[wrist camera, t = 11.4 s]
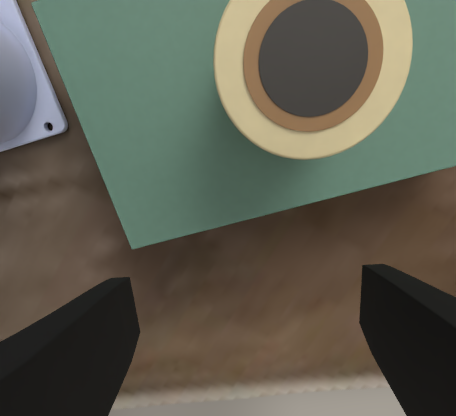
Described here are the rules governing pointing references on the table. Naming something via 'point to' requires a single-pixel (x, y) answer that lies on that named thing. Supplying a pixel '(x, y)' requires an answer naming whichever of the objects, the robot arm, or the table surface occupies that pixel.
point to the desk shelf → (224, 117)
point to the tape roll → (311, 71)
